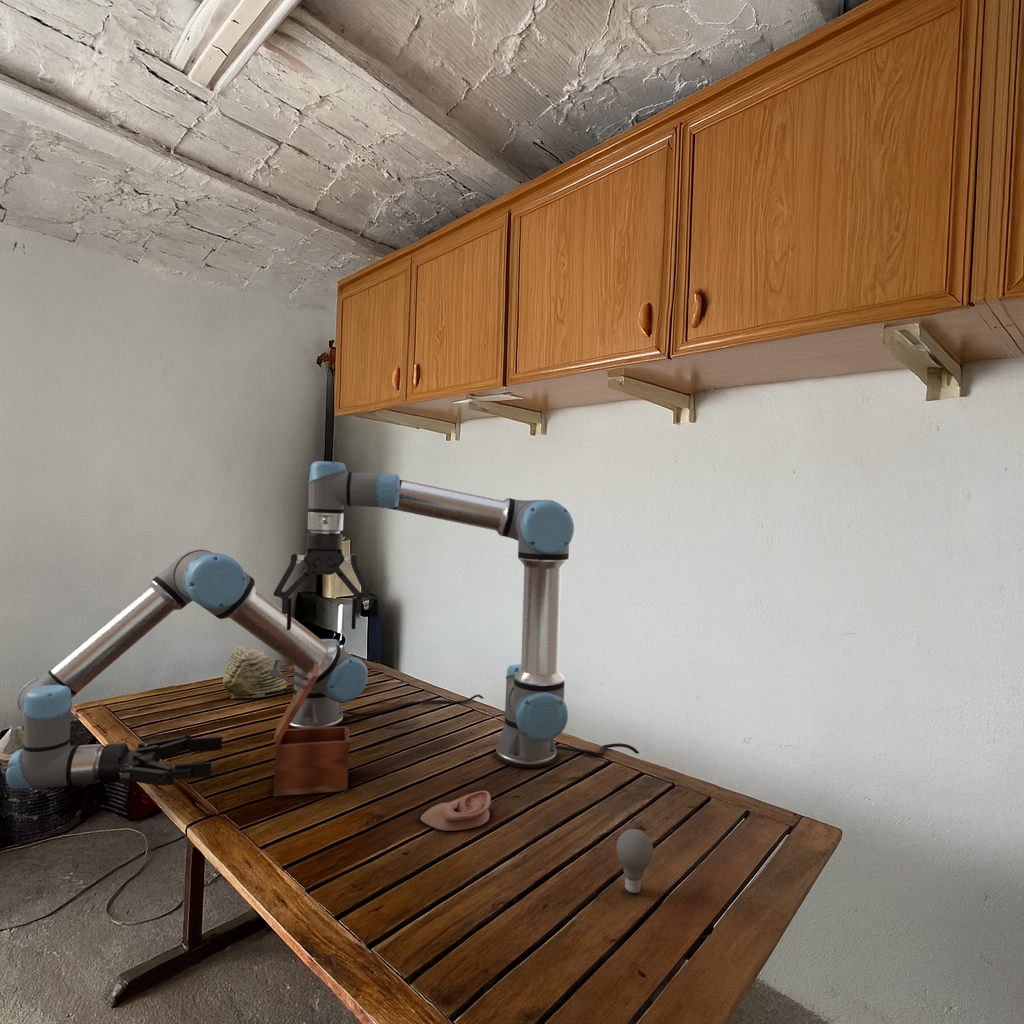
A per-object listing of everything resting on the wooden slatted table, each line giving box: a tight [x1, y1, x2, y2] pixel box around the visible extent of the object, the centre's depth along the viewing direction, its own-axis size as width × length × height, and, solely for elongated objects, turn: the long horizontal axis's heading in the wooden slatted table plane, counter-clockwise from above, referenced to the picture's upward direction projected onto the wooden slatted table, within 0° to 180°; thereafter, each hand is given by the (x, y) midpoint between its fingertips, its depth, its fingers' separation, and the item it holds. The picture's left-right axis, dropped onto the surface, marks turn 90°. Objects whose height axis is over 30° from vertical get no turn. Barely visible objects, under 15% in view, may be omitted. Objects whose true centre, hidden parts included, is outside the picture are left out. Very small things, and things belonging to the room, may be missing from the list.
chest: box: [272, 725, 350, 797], centre depth 140 cm, size 15×10×11 cm, turn 106°
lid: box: [270, 659, 319, 745], centre depth 137 cm, size 16×10×9 cm
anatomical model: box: [419, 790, 492, 832], centre depth 127 cm, size 13×4×12 cm
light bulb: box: [615, 828, 654, 894], centre depth 106 cm, size 6×6×10 cm
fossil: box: [222, 646, 288, 699], centre depth 198 cm, size 9×18×15 cm, turn 132°
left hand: (216, 755), depth 134 cm, fingers open, 13 cm apart
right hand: (321, 628), depth 139 cm, fingers open, 13 cm apart
